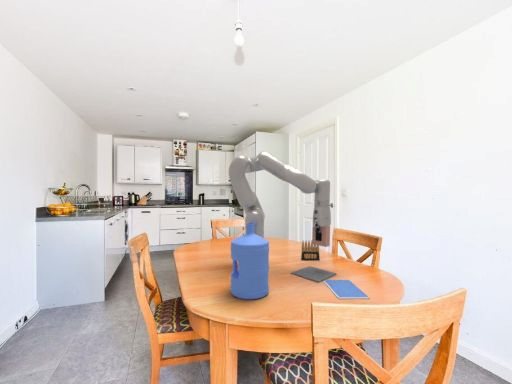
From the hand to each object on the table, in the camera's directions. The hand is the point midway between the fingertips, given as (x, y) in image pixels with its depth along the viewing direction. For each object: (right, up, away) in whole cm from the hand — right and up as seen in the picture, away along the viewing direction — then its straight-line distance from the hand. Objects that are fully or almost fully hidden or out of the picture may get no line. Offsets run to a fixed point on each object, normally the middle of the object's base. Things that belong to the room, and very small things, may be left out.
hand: (320, 239), depth 126 cm
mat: (-4, -17, -3) cm, 17 cm away
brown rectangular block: (0, -3, 0) cm, 3 cm away
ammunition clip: (0, -17, +23) cm, 28 cm away
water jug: (-36, -17, -25) cm, 46 cm away
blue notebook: (+4, -18, -21) cm, 28 cm away
